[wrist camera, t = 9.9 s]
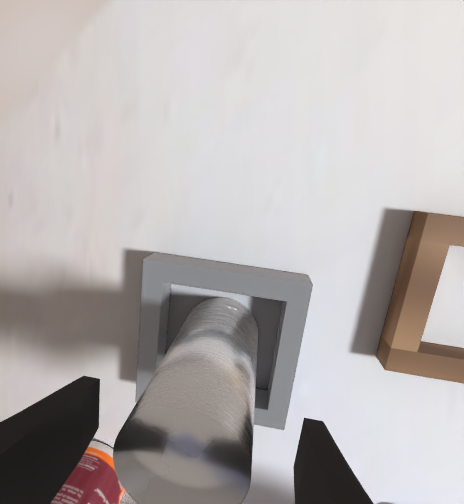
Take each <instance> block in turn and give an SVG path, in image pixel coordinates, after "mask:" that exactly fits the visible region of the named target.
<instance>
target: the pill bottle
mask: <svg viewBox="0 0 464 504" xmlns="http://www.w3.org/2000/svg"><path fill="white" fill-rule="evenodd" d="M125 491H126V490H125V489H124V488H123V486H122V485H121V483H120V481H119V479H118V477H117V475H116V471H115V468H114V463H113V449H112V448H111V447H109V446H107V445H105V444H103V443H100V442H96V441H91V442H90V444H89V446H88V448H87V450H86V451H85V453H84V455H83V457H82V458H81V460H80V461H79V463H78V464H77V466H76V467H75V469H74V470H73V472H72V473H71V475H70V476H69V477H68V479H67V480H66V482H65V483H64V485H63V486H62V488H61V489H60V490H59V492H58V493H57V495H56V496H55V498H54V499H53V500H52V502H51V503H50V504H119V503H120V501H121V499H122V497H123V495H124V493H125Z"/></svg>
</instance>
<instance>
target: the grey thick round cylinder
mask: <svg viewBox="0 0 464 504" xmlns="http://www.w3.org/2000/svg"><path fill="white" fill-rule="evenodd" d="M257 346H258V327H257V323H256V320H255V318H254V316H253V315H252V313H251V312H250V311H249V310H248V309H247V308H246V307H245V306H244V305H242V304H241V303H239V302H237V301H235V300H232V299H229V298H223V297H215V298H210V299H207V300H204V301H202V302H200V303H199V304H198V305H196V306H195V307H194V308H193V309H192V311H191V312H190V314H189V315H188V317H187V319H186V320H185V322H184V324H183V325H182V327H181V329H180V331H179V332H178V334H177V336H176V337H175V339H174V341H173V342H172V344H171V346H170V347H169V349H168V351H167V353H166V354H165V356H164V358H163V359H162V361H161V363H160V364H159V366H158V368H157V369H156V371H155V373H154V375H153V376H152V378H151V380H150V381H149V383H148V385H147V386H146V388H145V390H144V391H143V393H142V395H141V397H140V398H139V400H138V402H137V403H136V405H135V407H134V408H133V410H132V412H131V413H130V415H129V417H128V419H127V420H126V422H125V424H124V425H123V427H122V429H121V430H120V432H119V434H118V436H117V438H116V441H115V444H114V449H113V463H114V468H115V471H116V475H117V477H118V479H119V481H120V483H121V485H122V486H123V488H124V489H125V490H126V492H127V493H128V494H129V495H130V496H131V497H132V498H133V499H134V500H135V501H136V502H137V503H138V504H241V502H242V501H243V499H244V498H245V496H246V494H247V492H248V489H249V486H250V481H251V466H252V446H253V426H254V406H255V386H256V366H257Z"/></svg>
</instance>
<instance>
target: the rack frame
mask: <svg viewBox="0 0 464 504" xmlns="http://www.w3.org/2000/svg"><path fill="white" fill-rule="evenodd" d="M171 283H172V284H178V285H184V286H191V287H197V288H204V289H210V290H216V291H223V292H229V293H235V294H242V295H248V296H254V297H261V298H267V299H274V300H280V301H283V305H282V311H281V316H280V322H279V328H278V333H277V339H276V345H275V350H274V356H273V362H272V368H271V373H270V379H269V385H268V390H262V389H256V388H255V406H254V424H255V425H260V426H265V427H270V428H276V429H281V430H284V428H285V423H286V418H287V413H288V408H289V403H290V397H291V392H292V387H293V382H294V377H295V372H296V367H297V362H298V357H299V352H300V347H301V342H302V337H303V332H304V327H305V322H306V316H307V311H308V306H309V301H310V296H311V291H312V286H313V284H312V282H311V280H310V278H309V276H308V275H305V274H298V273H291V272H285V271H278V270H271V269H264V268H258V267H251V266H244V265H238V264H231V263H224V262H218V261H211V260H204V259H197V258H191V257H184V256H177V255H171V254H164V253H157V252H154V253H152V254H151V255H149V256H147V257H146V258H144V259H143V273H142V291H141V309H140V327H139V345H138V363H137V382H136V400H135V402H138V400H139V398H140V397H141V395H142V393H143V391H144V390H145V388H146V386H147V385H148V383H149V381H150V380H151V378H152V376H153V375H154V373H155V371H156V369H157V368H158V366H159V364H160V363H161V361H162V359H163V358H164V356H165V352H166V339H167V327H168V314H169V302H170V289H171Z"/></svg>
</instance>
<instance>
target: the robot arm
mask: <svg viewBox="0 0 464 504" xmlns="http://www.w3.org/2000/svg"><path fill="white" fill-rule="evenodd" d="M99 392H100V379H97V378H92V377H87V376H83V377H81V378H79V379H77V380H75V381H73V382H72V383H70V384H68V385H66V386H65V387H63V388H61V389H59V390H58V391H56V392H54V393H52V394H51V395H49V396H47V397H46V398H44V399H42V400H40V401H38V402H37V403H35V404H33V405H31V406H30V407H28V408H26V409H24V410H23V411H21V412H19V413H17V414H15V415H13V416H11V417H10V418H8V419H6V420H4V421H2V422H0V504H50V503H51V502H52V500H53V499H54V498H55V496H56V495H57V493H58V492H59V490H60V489H61V488H62V486H63V485H64V483H65V482H66V480H67V479H68V477H69V476H70V475H71V473H72V472H73V470H74V469H75V467H76V466H77V464H78V463H79V461H80V460H81V458H82V457H83V455H84V453H85V451H86V450H87V448H88V446H89V444H90V442H91V441H92V439H93V437H94V435H95V433H96V431H97V429H98V427H99ZM294 490H295V504H373V502H372V501H371V499H370V498H369V496H368V495H367V493H366V492H365V490H364V489H363V487H362V485H361V484H360V482H359V481H358V479H357V478H356V476H355V475H354V473H353V471H352V470H351V468H350V467H349V465H348V463H347V462H346V460H345V458H344V457H343V455H342V453H341V452H340V450H339V448H338V446H337V445H336V443H335V441H334V440H333V438H332V436H331V434H330V433H329V431H328V429H327V427H326V425H325V424H324V423H323V421H318V420H313V419H308V418H304V421H303V426H302V430H301V435H300V440H299V445H298V449H297V454H296V459H295V463H294Z"/></svg>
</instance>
